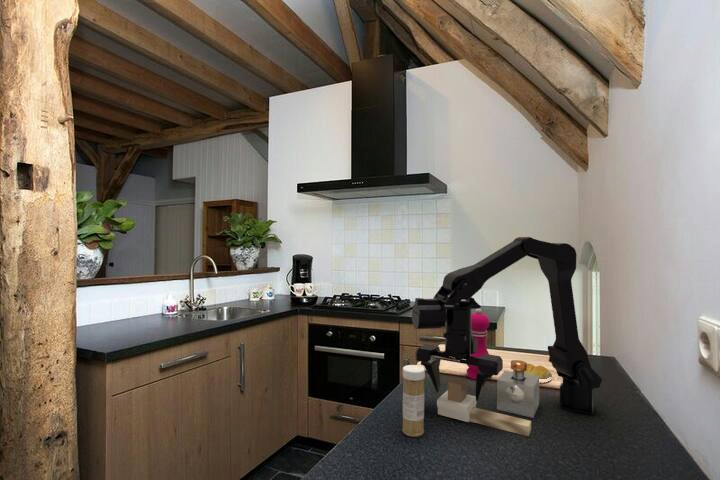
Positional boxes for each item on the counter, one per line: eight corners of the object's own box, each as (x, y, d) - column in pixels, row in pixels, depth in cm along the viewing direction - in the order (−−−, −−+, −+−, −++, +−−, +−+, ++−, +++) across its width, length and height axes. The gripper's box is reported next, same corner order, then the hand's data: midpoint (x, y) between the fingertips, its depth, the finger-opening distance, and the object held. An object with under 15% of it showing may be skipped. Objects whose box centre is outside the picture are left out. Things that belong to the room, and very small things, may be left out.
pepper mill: (494, 381, 112) (495, 310, 112) (468, 380, 112) (469, 309, 112) (486, 372, 119) (487, 306, 119) (462, 371, 119) (463, 305, 119)
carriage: (476, 411, 91) (477, 379, 91) (467, 423, 85) (467, 388, 85) (447, 404, 95) (447, 373, 95) (436, 415, 89) (437, 382, 89)
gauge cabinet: (538, 405, 96) (539, 376, 96) (533, 418, 89) (533, 387, 89) (504, 398, 100) (504, 370, 100) (496, 410, 93) (496, 380, 93)
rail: (531, 430, 83) (531, 421, 83) (528, 436, 81) (528, 426, 81) (444, 408, 93) (444, 400, 93) (439, 413, 91) (440, 404, 91)
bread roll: (523, 371, 121) (524, 358, 121) (554, 379, 115) (555, 365, 114) (511, 377, 115) (512, 364, 115) (543, 386, 109) (543, 372, 109)
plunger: (527, 386, 95) (528, 361, 95) (525, 391, 92) (525, 365, 92) (512, 383, 97) (512, 359, 97) (508, 388, 94) (509, 363, 94)
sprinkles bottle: (415, 425, 85) (416, 363, 85) (428, 435, 81) (429, 369, 81) (397, 429, 83) (398, 365, 83) (409, 439, 79) (410, 372, 79)
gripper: (508, 326, 92) (507, 393, 92) (432, 317, 102) (432, 377, 102) (497, 336, 83) (496, 411, 83) (414, 325, 92) (414, 391, 93)
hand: (457, 396), depth 90 cm, fingers open, 9 cm apart
